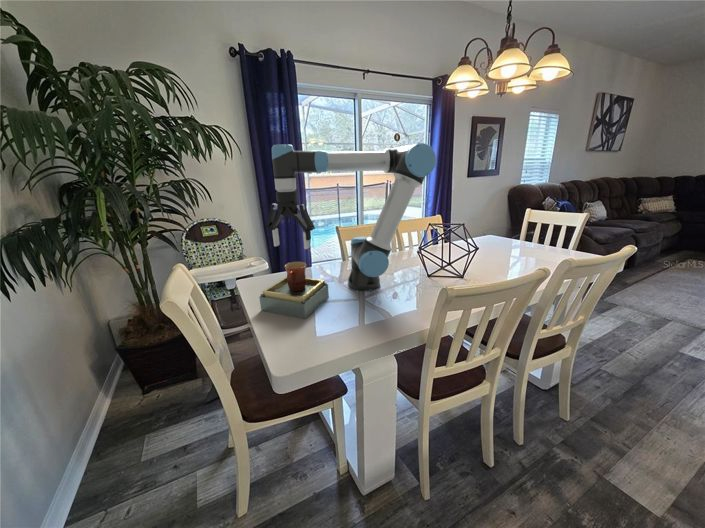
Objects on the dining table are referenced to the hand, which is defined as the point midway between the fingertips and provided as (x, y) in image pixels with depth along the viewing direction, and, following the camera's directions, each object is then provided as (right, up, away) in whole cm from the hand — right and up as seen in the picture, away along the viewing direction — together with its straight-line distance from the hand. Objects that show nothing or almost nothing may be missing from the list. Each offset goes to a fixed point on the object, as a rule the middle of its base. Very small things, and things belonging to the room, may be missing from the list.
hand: (291, 247), depth 111 cm
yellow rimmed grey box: (-1, -24, +9) cm, 25 cm away
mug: (+1, -17, +6) cm, 18 cm away
